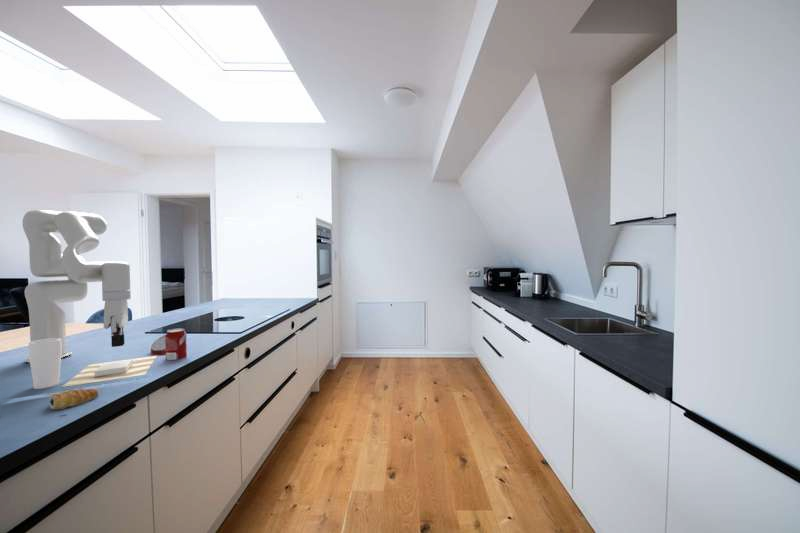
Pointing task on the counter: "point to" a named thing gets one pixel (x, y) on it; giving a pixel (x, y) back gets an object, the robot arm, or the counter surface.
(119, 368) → the block
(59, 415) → the counter surface
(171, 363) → the counter surface
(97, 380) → the board
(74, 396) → the pastry
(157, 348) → the canned food
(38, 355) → the drinking glass
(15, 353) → the counter surface
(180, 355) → the soda can
